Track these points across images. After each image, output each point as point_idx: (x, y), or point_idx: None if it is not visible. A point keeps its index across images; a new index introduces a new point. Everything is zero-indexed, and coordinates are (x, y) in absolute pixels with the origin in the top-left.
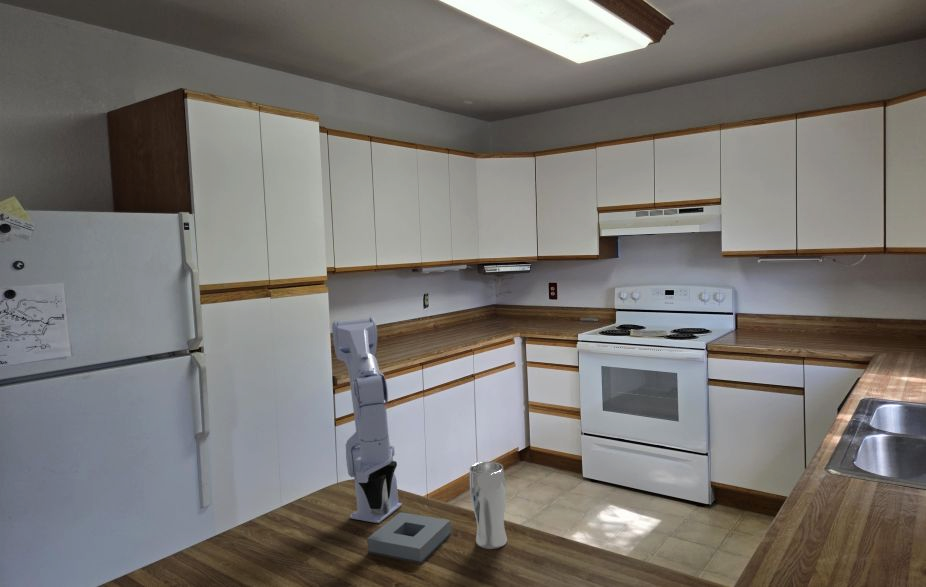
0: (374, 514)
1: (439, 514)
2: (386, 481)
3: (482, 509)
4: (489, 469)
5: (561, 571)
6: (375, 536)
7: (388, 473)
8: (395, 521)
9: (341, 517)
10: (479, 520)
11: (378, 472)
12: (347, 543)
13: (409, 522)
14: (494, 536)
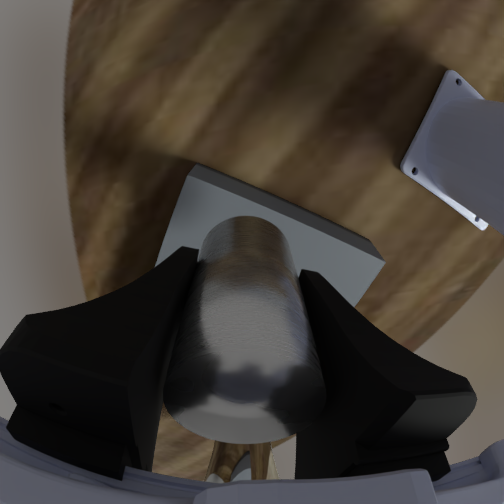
0: (204, 241)
1: (399, 325)
2: None
3: (205, 477)
4: None
5: (156, 453)
6: (203, 204)
7: (302, 449)
8: (316, 257)
9: (457, 45)
10: (219, 448)
11: (336, 412)
12: (276, 74)
13: None
14: None
